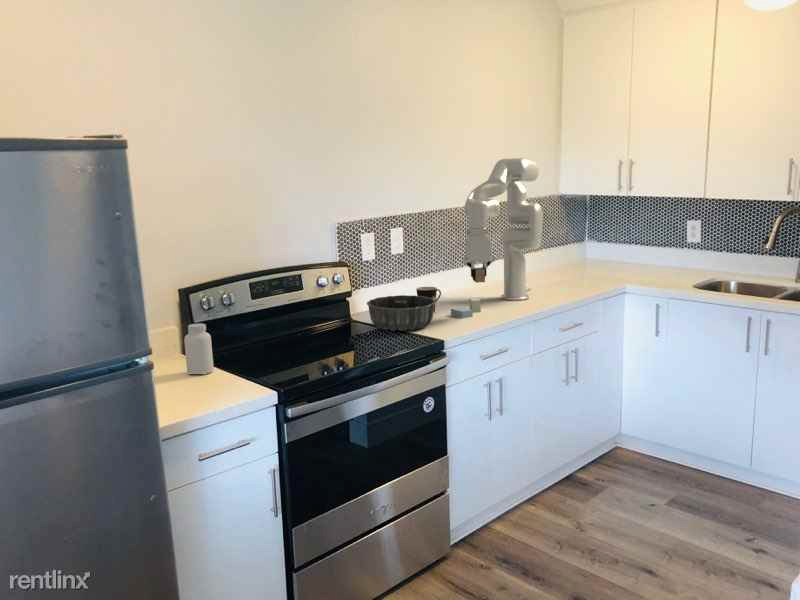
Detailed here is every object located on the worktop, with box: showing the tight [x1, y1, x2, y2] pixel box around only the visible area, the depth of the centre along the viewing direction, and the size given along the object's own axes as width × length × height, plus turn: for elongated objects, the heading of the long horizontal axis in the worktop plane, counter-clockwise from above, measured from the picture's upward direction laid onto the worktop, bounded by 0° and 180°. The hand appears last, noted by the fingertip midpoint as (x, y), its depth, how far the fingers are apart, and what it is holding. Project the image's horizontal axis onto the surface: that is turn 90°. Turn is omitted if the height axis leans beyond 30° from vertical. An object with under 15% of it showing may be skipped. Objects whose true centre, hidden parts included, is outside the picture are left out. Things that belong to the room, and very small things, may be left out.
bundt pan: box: [366, 294, 437, 332], centre depth 279 cm, size 26×26×10 cm
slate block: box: [450, 307, 474, 319], centre depth 295 cm, size 8×5×3 cm, turn 31°
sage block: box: [468, 297, 482, 313], centre depth 303 cm, size 6×4×5 cm, turn 5°
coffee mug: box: [415, 286, 442, 313], centre depth 304 cm, size 12×9×10 cm
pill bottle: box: [183, 323, 214, 374], centre depth 225 cm, size 8×8×15 cm
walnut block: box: [472, 267, 486, 283], centre depth 291 cm, size 6×4×5 cm, turn 7°
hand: (478, 277), depth 291 cm, fingers closed on walnut block, 3 cm apart
